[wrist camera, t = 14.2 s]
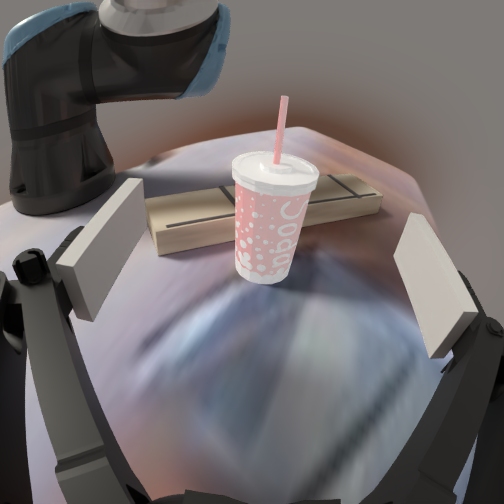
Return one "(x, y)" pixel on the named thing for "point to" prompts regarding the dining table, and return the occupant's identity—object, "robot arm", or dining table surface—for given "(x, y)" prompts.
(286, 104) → the beverage cup
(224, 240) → the maple strip
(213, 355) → the dining table surface
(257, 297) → the dining table surface
